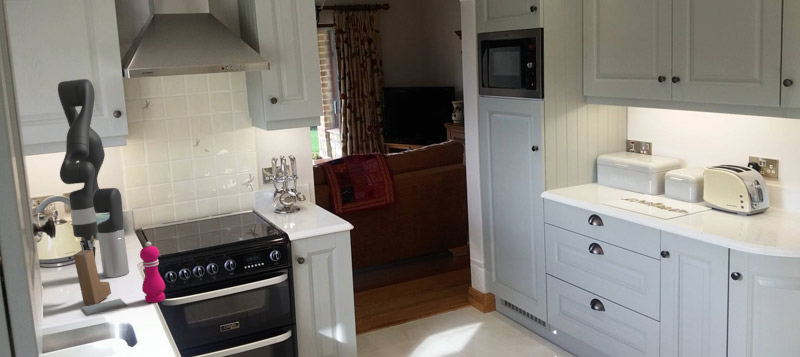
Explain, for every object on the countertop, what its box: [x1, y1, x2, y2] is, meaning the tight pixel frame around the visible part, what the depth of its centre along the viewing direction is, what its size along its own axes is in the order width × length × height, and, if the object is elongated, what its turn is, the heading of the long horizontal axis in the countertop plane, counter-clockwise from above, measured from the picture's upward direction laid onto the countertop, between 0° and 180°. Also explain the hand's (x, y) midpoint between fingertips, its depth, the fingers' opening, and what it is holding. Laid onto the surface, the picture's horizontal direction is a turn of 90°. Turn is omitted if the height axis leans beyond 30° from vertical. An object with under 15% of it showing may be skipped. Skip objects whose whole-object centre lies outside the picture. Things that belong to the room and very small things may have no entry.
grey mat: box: [81, 298, 128, 316], centre depth 233 cm, size 8×12×1 cm
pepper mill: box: [139, 241, 166, 304], centre depth 236 cm, size 7×7×20 cm
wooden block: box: [73, 249, 112, 306], centre depth 238 cm, size 9×4×18 cm, turn 166°
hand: (91, 271), depth 243 cm, fingers closed
